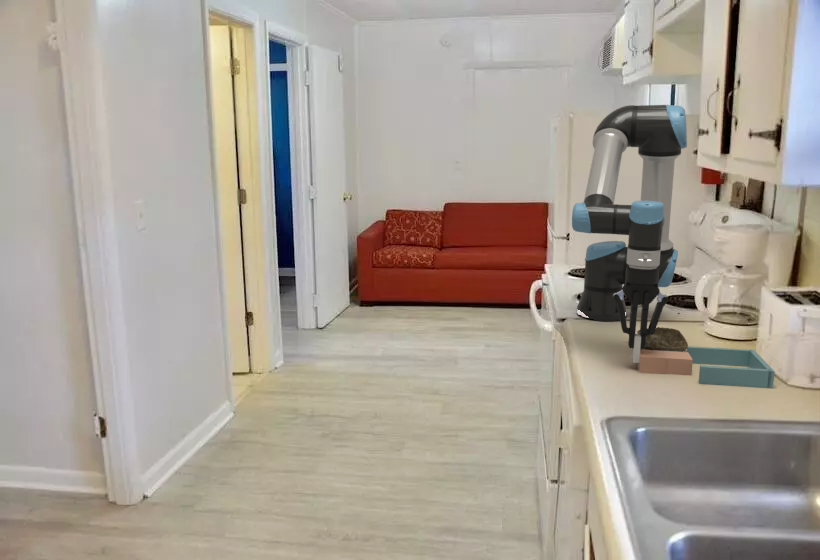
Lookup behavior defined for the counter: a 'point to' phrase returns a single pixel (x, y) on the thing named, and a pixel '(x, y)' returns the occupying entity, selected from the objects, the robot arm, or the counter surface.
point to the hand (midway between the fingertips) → (635, 360)
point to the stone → (666, 340)
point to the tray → (750, 377)
